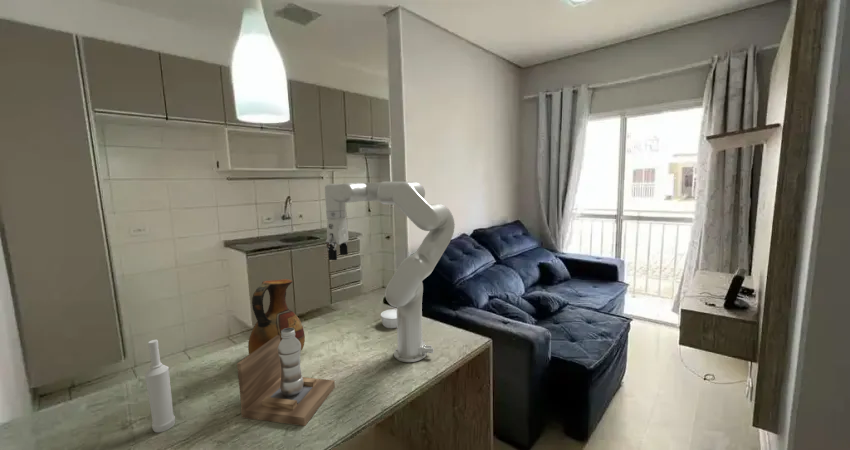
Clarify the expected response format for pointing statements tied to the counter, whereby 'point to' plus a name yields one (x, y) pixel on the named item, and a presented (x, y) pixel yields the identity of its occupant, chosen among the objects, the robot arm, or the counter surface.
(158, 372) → the bottle
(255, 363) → the display stand
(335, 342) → the counter surface
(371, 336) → the counter surface
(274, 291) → the ceramic pitcher
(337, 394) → the counter surface
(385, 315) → the ramekin
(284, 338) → the plastic bottle
